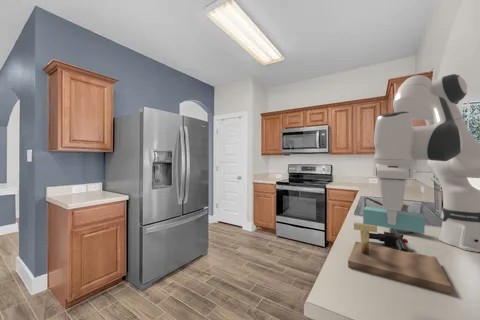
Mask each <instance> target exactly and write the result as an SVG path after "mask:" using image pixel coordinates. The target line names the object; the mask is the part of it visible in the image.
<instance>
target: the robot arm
mask: <svg viewBox="0 0 480 320" xmlns="http://www.w3.org/2000/svg"><path fill="white" fill-rule="evenodd" d="M467 91H468V85H467V82H466V80H465V79H464V78H463V77H461V76H460V75H458V74H456V73H452V74H449V75H444V76H442V77H441V78H437V79H434V80H431V79H430V78H429V77H428V76H426V75H421V74H419V75H417V74H416V75H413V76H410V77H408V78H407V79H405V80H404V81H403V82H402V83H401V85H400V86H399V88H398V89H397V91H396V92H395V95H394V97H393V100H392V101H393V102H392V108H393V109H392V110H393V112H390V113H389V112H388V113H383V114H381V115H379V116H377V117H376V121H375V125H374V133H373V134H374V135H373V146H374V147H373V148H374V156H373V168H372V171H373V172H372V173H373V174H372V175H373V177H375V178H377V179H378V183H379V186H380V187H379V188H380V196H381V197H380V198H381V204H382V205H383V206H382V209H386V210H387V217H388V224H391V225H396V216H397V211H401V210H402V206H403V204H404V200H405V194H406V188H407V187H406V185H407V184H408V180H410V179H413V178H414V161H415V160H416V161H417V160H419V161H427V162H426V163H427V165H426V166H427V169H428V170H429V171H430V172H431V173H433V175H435V176H436V178H437V180H438V182H439V183H440V186H441V189H442V201H443V203H442V204H443V205H442V207H441V221H442V223H441V229H440V232H439V235H438V240H439V241H440V242H443V243H445V244H448V245H450V246H455V247H458V248H459V249H462V250H466V251H470V252H476V253H480V190H478V189H477V188H476V187H474V186H473V185H472V184H471V183H470V182H469V179H468V178H474V179H475V178H476V179H480V142H479V141H478V140H477V139H475V137H474V136H473V135H472V133H471V132H470V131H469V128H468V126H467V124H466V121H465V120H464V117H463V114H462V113H461V111H460V109H459V107H458V106H457V105H458V104H459V102H460V101H462V100H463V99H464V98H465V96H466V95H467ZM413 121H424V122H425V124H426V125H419V126H418V125H417V126H414V125H413Z"/></svg>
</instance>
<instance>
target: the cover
mask: <svg viewBox="0 0 480 320" xmlns="http://www.w3.org/2000/svg"><path fill="white" fill-rule="evenodd" d="M362 216H363V217H362V219H363V220H362V221H363V222H362V224H369V225H375V226H377V227H383V228H387V229H391V228H393V229H399V230H405V231H411V232H412V233H418V234H423V235H424V234H425V222H426V221H425V218H426V217H425V216H424V214H423V213H419V212H415V211H414V212H412V211H408V212H406V211H397V216H396V225H391V224H388V217H387V210H386V209H384V208H380V207H373V206H364V208H363V215H362Z"/></svg>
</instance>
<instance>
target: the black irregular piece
mask: <svg viewBox="0 0 480 320" xmlns="http://www.w3.org/2000/svg"><path fill="white" fill-rule="evenodd" d="M370 239H371V240H378V241H379V242H383V244H384V245H388V246H392V247H396V248H397V250H401V251H406V252H409V250H408V247H407V246H406V244H408V243H409V242H408V239H407V238H404V234H401V233H399V232H397V231H396V230H395V229H393V228H389V231H388V232H387V231H383V233H379V232H377V233H375V232H369V240H370Z"/></svg>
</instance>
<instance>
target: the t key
mask: <svg viewBox="0 0 480 320" xmlns="http://www.w3.org/2000/svg"><path fill="white" fill-rule="evenodd" d="M353 230H354V231H359V235H360V242H361V252H362V253H365V254H369V244H370V239H369V233H375V234H378V226H375V225H369V224H363V222H362V223H361V222H353Z"/></svg>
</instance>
